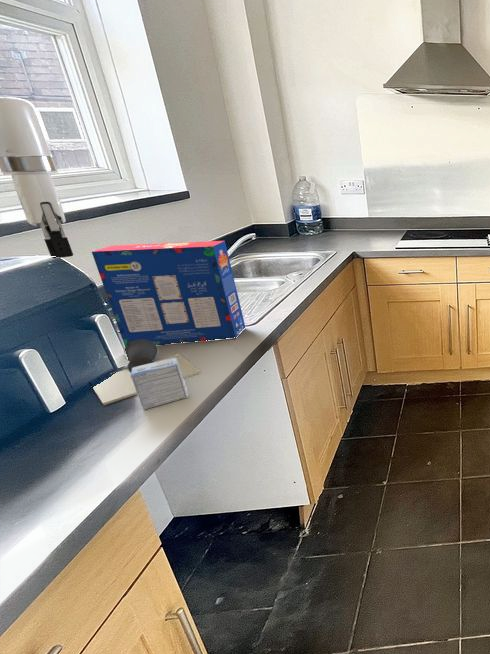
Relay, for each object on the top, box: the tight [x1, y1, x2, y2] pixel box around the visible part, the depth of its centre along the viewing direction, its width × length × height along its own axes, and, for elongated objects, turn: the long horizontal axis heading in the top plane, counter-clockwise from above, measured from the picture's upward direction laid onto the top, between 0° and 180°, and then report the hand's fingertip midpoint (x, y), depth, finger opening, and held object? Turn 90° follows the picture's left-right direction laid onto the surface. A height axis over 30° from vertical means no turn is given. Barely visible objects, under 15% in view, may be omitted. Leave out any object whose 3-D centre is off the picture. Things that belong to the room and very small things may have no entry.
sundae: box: [124, 339, 159, 373], centre depth 106 cm, size 7×7×15 cm
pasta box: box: [91, 240, 246, 348], centre depth 119 cm, size 28×8×28 cm, turn 103°
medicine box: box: [131, 358, 189, 411], centre depth 91 cm, size 8×4×9 cm, turn 130°
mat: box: [92, 353, 201, 406], centre depth 101 cm, size 18×16×1 cm
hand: (62, 256), depth 88 cm, fingers closed
